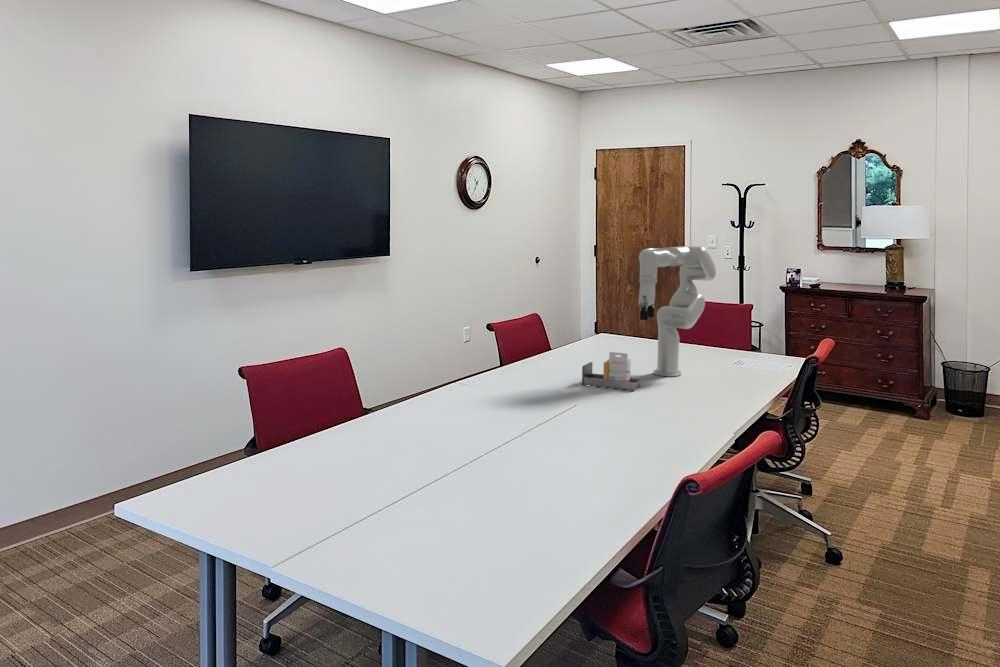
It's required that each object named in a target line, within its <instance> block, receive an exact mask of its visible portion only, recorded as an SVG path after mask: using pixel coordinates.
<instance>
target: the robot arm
mask: <svg viewBox="0 0 1000 667" xmlns="http://www.w3.org/2000/svg"><path fill="white" fill-rule="evenodd" d="M638 254H639V255H638V261H639V283H640V285H639V291H638V292H639V293H638V302H637V303H638V306H639V311H640V312H639V320H640V321H641V320H642V321H648V318H654V316H655V301H656V284H658V268H665V267H669V266H670V267H677V266H680V268H679V287H678V288H677V290H676V291H675V293H674V294H673V295H672V297H671V299H670V301H669V305H665V306H661V307H659V309H658V310H657V313H656V319H657V320H656V321H657V327H658V328H657V329H658V331H657V332H658V334H657V335H658V338H657V363H656V369H653V374H655V375H656V376H659V377H679V376H681V375H682V371H681V370H680V369H679V358H680V356H679V355H680V335H679V334H680V333H679V331H678V330H677V329H683V330H689V329H691V328H693V327H694V325H695V324H696V323H697V321H698V319H699V318H700V317H701V315H702V313H703V312H704V310H705V306H706V300H705V299H706V298H705V297H704V295H702V294H700V293H698V289H697V286H696V285H695V283H694V281H704V282H710V281H712V280H713V279H715V277H716V273H717V270H716V268H717V267H716V266H715V263H714V261H713V259H712V257H711V255H710V253H709V252H708V250H707V249H706V248H705V247H703V246H688V245H687V246H685V245H683V246H672V247H671V246H670V247H660V248H659V247H657V248H654V247H653V248H645V249H642V250H641V251H640V252H639V253H638Z"/></svg>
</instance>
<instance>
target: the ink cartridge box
mask: <svg viewBox="0 0 1000 667" xmlns="http://www.w3.org/2000/svg"><path fill="white" fill-rule="evenodd" d="M608 354H609V356H608V357H609V358H608V360H609V369H608V380H614V381H623V382H630V377H631V358H628V353H627V352H626V353H624V352H616V351H615V352H612V351H609V353H608Z"/></svg>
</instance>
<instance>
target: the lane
mask: <svg viewBox="0 0 1000 667" xmlns="http://www.w3.org/2000/svg"><path fill="white" fill-rule="evenodd" d="M603 376H604V373H603V374H602V373H593V361H589V362H588V363H586V364H584V365H582V367H581V386H582V385H590V386H589V387H591V386H597V387H596V388H600V387H605V388H604V389H608V388H613V389H612V390H617V389H622V390H621V391H626V390H630V391H629V392H635V391H636V390H638V389H639V388H640V387H641V378H639V377H631V376H630V382H623V381H614V380H605V379H603ZM638 387H639V388H638ZM637 388H638V389H637ZM635 389H636V390H635ZM634 390H635V391H634Z"/></svg>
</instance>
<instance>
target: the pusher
mask: <svg viewBox="0 0 1000 667" xmlns="http://www.w3.org/2000/svg"><path fill="white" fill-rule="evenodd" d="M608 369H609V359H608V360H606V361H604V362H603V375H604V376H603V379H605V380H608Z"/></svg>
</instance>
